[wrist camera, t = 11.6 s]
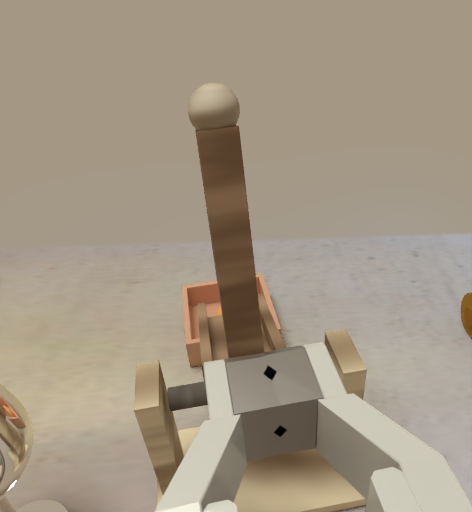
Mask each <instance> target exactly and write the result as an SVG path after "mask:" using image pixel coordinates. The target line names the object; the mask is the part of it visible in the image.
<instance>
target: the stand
mask: <svg viewBox="0 0 472 512" xmlns="http://www.w3.org/2000/svg"><path fill="white" fill-rule="evenodd" d="M325 345H326V347H327V349H328V352H329V354H330V356H331V358H332V361H333V363H334V365H335V367H336V370H337V372H338V374H339V376H340V378H341V381H342V383H343V385H344V387H345V390H346V392H347V394H353V393H354V394H355V395H357V396H358V397H360V398H361V399H362V400H363V396H364V388H365V379H366V371H367V369H366V367H365V365H364V363H363V361H362V359H361V357H360V355H359V354H358V352H357V350H356V348H355V346H354V344H353V342H352V340H351V338H350V336H349V334H348V332H347V330H346V329H342V330H336V331H330V332H325ZM134 412H135V415H136V418H137V421H138V424H139V427H140V429H141V432H142V435H143V438H144V441H145V444H146V447H147V450H148V453H149V456H150V459H151V462H152V465H153V467H154V470H155V473H156V476H157V506H158V504H159V502H160V501H161V499H162V497H163V495H164V493H165V491H166V489H167V488H168V486H169V484H170V482H171V480H172V478H173V477H174V475H175V473H176V471H177V469H178V467H179V465H180V464H181V462H182V460H183V458H184V456H185V454H186V452H187V451H188V449H189V447H190V445H191V443H192V441H193V440H194V438H195V436H196V434H197V432H198V430H199V428H200V427H201V426H200V427H195V428H189V429H184V430H178V431H177V427H176V424H175V420H174V416H173V412H172V411H170V408H169V403H168V393H167V389H166V386H165V382H164V378H163V374H162V371H161V367H160V363H159V360H157V361H151V362H145V363H139V364H137V366H136V383H135V400H134ZM234 503H235V504H236V505H237V511H238V512H333V511H338V510H343V509H348V508H353V507H358V506H363V505H366V503H367V500H366V499H365V498H364V497H363V496H362V495H361V494H360V493H359V492H358V491H357V490H356V489H355V488H354V487H353V486H352V485H351V484H350V483H349V482H348V481H347V480H346V479H345V478H344V477H343V476H342V475H341V474H340V473H339V472H338V471H337V470H336V469H335V468H334V467H333V466H332V465H331V464H330V463H329V462H328V461H327V460H326V459H325V458H324V457H323V456H322V455H321V454H320V453H319V452H318V451H317V450H316V449H309V450H303V451H297V452H291V453H285V454H279V455H275V456H270V457H266V458H261V459H257V460H252V461H248V462H247V466H246V469H245V472H244V475H243V477H242V480H241V483H240V486H239V489H238V491H237V494H236V497H235V500H234Z"/></svg>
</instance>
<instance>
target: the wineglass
mask: <svg viewBox="0 0 472 512" xmlns="http://www.w3.org/2000/svg"><path fill="white" fill-rule="evenodd" d="M32 445H33V427H32V422H31V419H30V416H29V414H28V412H27V410H26V409H25V407H24V406H23V405H22V403H21V402H20V401H19V400H18V399H17V398H16V397H15V396H14V395H13V394H12V393H11V392H9V391H8V390H7V389H6V388H5V387H4V386H2V385H1V384H0V512H68V511H67V509H66V508H65V507H64V506H63V505H62V504H60V503H59V502H56V501H54V500H37V501H34V502H31V503H28V504H26V505H24V506H22V507H20V508H19V509H17V510H15V509H14V507H13V506H12V504H11V503H10V502H9V500H8V499H7V497H6V496H5V495H6V494H7V493H8V492H9V491H10V490H11V489H12V488H13V487H14V485H15V484H16V483H17V481H18V480H19V478H20V477H21V475H22V473H23V472H24V470H25V468H26V465H27V463H28V461H29V458H30V454H31V451H32Z"/></svg>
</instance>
